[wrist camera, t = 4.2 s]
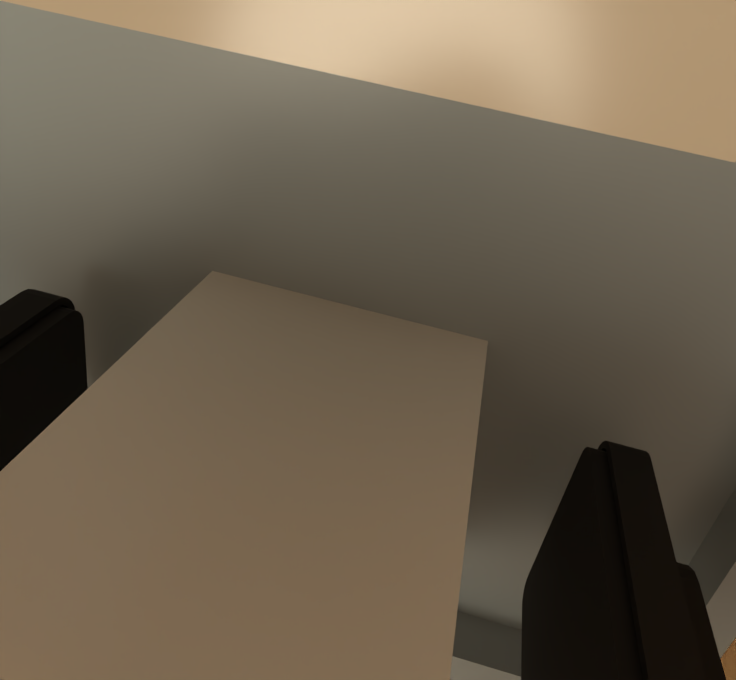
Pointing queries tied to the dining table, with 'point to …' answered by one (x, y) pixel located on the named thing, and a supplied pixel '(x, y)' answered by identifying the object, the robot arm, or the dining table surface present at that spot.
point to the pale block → (248, 500)
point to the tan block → (489, 54)
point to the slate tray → (399, 264)
